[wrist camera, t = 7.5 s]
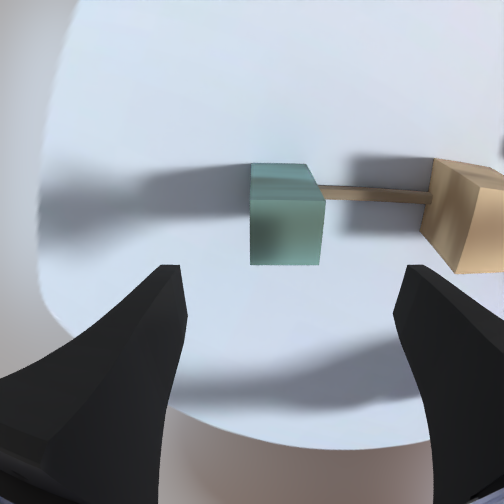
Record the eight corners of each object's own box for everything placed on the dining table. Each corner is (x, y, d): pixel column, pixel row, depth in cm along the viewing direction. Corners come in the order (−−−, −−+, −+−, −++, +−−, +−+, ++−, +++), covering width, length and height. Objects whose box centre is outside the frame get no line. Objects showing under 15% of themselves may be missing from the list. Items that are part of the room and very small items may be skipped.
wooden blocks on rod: (474, 233, 19) (516, 276, 14) (251, 228, 19) (250, 283, 15) (490, 167, 16) (542, 200, 12) (251, 145, 17) (249, 175, 12)
